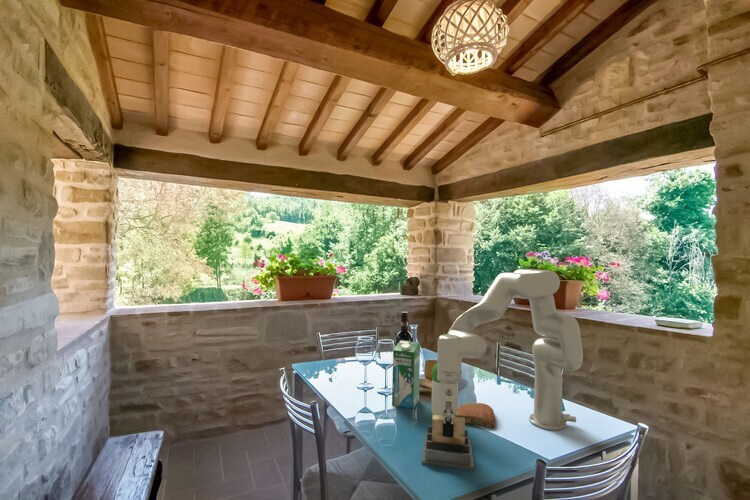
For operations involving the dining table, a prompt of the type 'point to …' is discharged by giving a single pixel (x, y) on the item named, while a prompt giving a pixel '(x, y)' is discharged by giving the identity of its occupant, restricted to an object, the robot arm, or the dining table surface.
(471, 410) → the ceramic shard
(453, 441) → the oak board
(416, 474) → the dining table surface
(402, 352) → the milk carton
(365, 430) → the dining table surface
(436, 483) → the dining table surface
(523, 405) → the dining table surface
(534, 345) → the robot arm
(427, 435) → the rack
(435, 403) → the wine bottle
